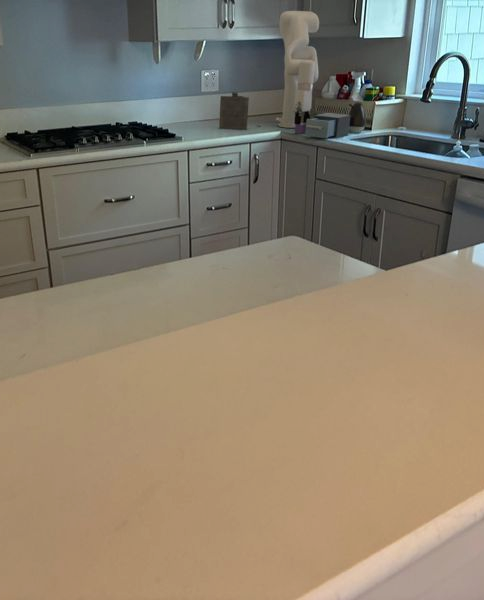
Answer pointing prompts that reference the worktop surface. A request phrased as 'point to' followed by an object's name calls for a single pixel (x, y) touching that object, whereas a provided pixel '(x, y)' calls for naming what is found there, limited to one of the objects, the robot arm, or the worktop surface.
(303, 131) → the purple cube
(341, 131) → the grey drawer box
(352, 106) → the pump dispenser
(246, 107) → the flask
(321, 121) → the sliding drawer
